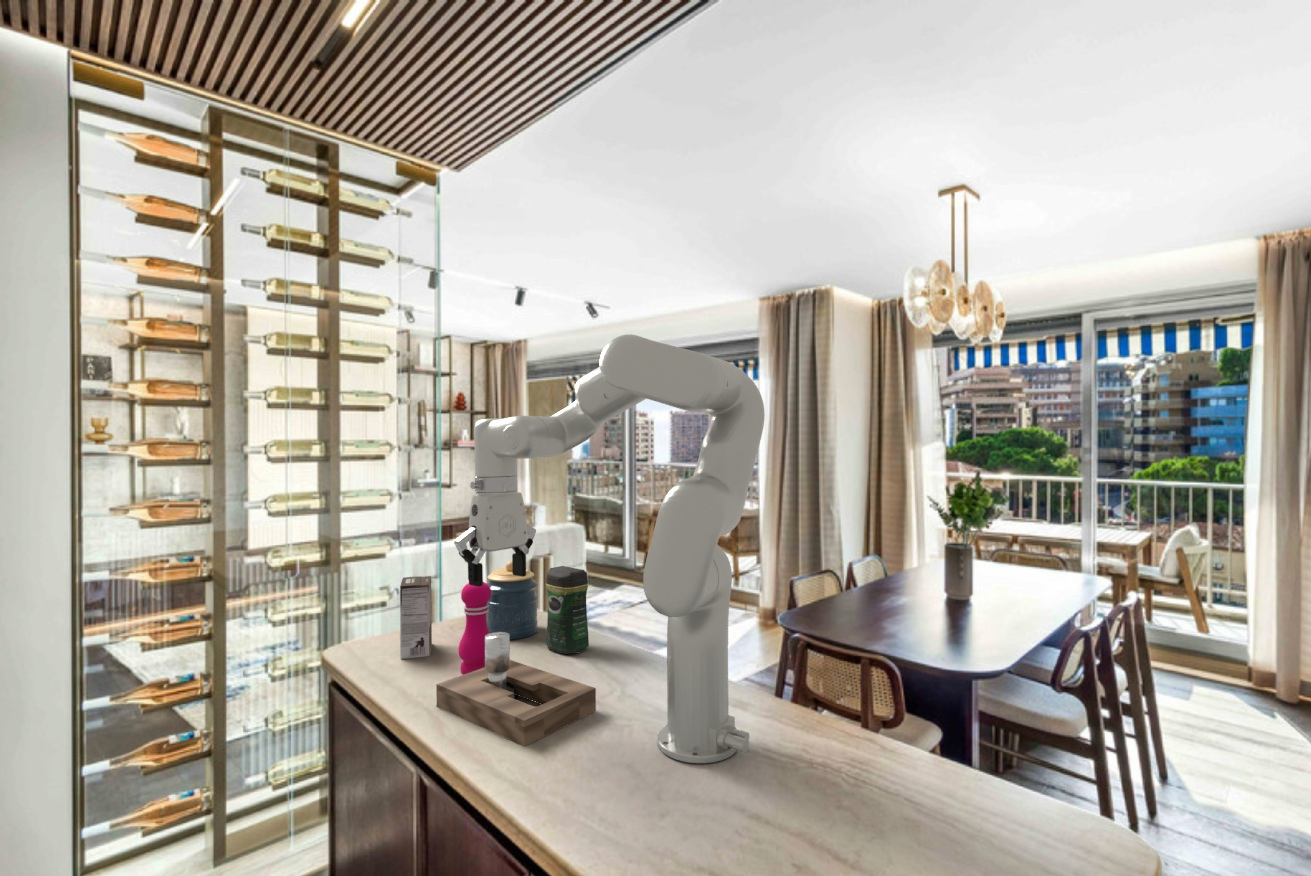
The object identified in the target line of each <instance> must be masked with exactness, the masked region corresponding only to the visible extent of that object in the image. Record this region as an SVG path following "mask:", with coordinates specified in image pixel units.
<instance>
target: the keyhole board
mask: <svg viewBox="0 0 1311 876" xmlns="http://www.w3.org/2000/svg"><path fill="white" fill-rule="evenodd" d="M435 685H436V689H435V690H436V692H435V693H436V707H437V708H439V709H441V710H444V711H446V712H448V713H450V714H451V715H454V716H456V717H459V718H461V719H464V720H466V721H468V722H470V723H472V724H474V725H477V726H478V727H481V728H483V729H485V730H488V731H490V732H492V733H494V734H495V735H498V736H501V737H503V738H505V739H507V740H509V741H512V742H514V743H515V744H517V745H520V746H523V747H526V746H527V745H531V744H532V743H535V742H537V741H538V740H541V739H542V738H544V737H546V736H548V735H550V734H552V733H554V732H557V731H558V730H560V729H562V728H564V727H567V726H568V725H570V724H572V723H575V722H576V721H578V720H580V719H582V718H585V717H587V716H588V715H590V714H592V713H595V712H597V701H596V700H597V697H596V696H597V695H596V694H597V692H596V691H597V688H596V687H593V686H590V685H587V684H586V683H581V682H578V681H575V680H572V679H569V678H566V677H563V676H560V675H557V674H554V673H551V672H549V671H548V672H547V671H545V670H541V669H540V668H539V669H538V668H536V667H533V666H530V665H527V664H525V663H521V662H518V661H516V660H515V661H514V660H512V659H510V669H509V670H507V685H511V686H513V687H514V689H515V694H516V695H515V696H518V695H520V696H521V698H523V697H525V698H524V699H526V698H528V699H530V700H529V701H531V700H533V701H532V702H534V701H536V702H538V703H537V704H539V703H541V704H542V705H541V704H539V705H538V706H533V705H531V704H528V703H526V702H523V701H520V700H518V699H514V693H513V692H510V691H507V690H505V689H502V688H499V687H497V686H494V685H492V684H489V678H488V672H486V671H485V667H484V668H481V669H479V670H476V671H473V672H470V673H467V674H464V675H463V674H461V675H459V676H456V677H452V678H449V679H447V680H444V681H442V682H438V683H436V684H435ZM520 696H519V697H520ZM528 699H527V700H528ZM536 702H535V703H536Z"/></svg>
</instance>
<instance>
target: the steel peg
mask: <svg viewBox="0 0 1311 876" xmlns="http://www.w3.org/2000/svg"><path fill="white" fill-rule="evenodd" d="M510 641H511V640H510V634H509V633H506V632H495V633H490V634H487V635H486V636H485V671H486V672H488V678H489V684H492V685H494V686H497V687H499V688H502V689H505V690H507V691H510V692H513V693H514V699H515V696H516V695H515V689H514V687H513V686H511V685H507V670H509V669H510V660H511V655H510V654H511V650H510V649H511V647H510V646H511V642H510ZM515 700H516V699H515Z"/></svg>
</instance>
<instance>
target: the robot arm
mask: <svg viewBox="0 0 1311 876" xmlns="http://www.w3.org/2000/svg"><path fill="white" fill-rule="evenodd" d="M574 395H575V401H573V402H572V403H571V404H569V405H567V406H566V407H564V408H563V409H561V410H559V411H558V412H556V413H554V414H553V415H550V416H544V415H543V416H540V415H514V416H509V417H506V418H505V417H504V418H500V417H499V418H495V417H493V418H482V419H479V420H477V421H476V422H475V424H474V426H473V427H474V429H473V431H474V435H473V436H474V438H473V439H474V481H471V482H470V486H469V487H470V488H471V490H474V492H475V493H474V494H473V495H472V497H471V503H470V509H469V519H468V530H466V531H465V532H463V533H462V534H461V535H459V536H458V537H457V538H456V539H455V540H454V542H453V543H454V546H455V548H456V550H457V552H458V555H459V556H460V557H461V558H462V559H463V560H464V562H465V563H467V580H468V583H469V584H470V585H473V586H478V587H479V586H482V585H483V582H484V581H483V579H484V578H483V576H484V575H483V574H484V573H483V571H484V570H483V569H484V567H483V566H484V565H483V563H482V562H481V563H480V561H481V560H482V558H483V557H484V554H485V553H486V552H489V553H490V552H498V551H504V550H507V549H508V550H510V549H512V550H513V552H514V553H512V556H511V558H512V560H511V561H512V571H513V575H516V576H522V577H523V576H526V569H527V555H529V552H530V549H531V546H532V545H533V544H534V538H535V536H536V534H537V529H536V528H535V527H533V526H531V525H528V523H527V515H526V507H525V502H524V499H523V495H522V492H519V487H518V483H519V481H518V459H519V460H520V459H523V460H524V459H535V458H552V457H553V458H554V457H558V456H560V455H563V454H565V453H567V452H568V451H570V450H572V449H574V448H575V447H578V446H579V445H581V444H583V443H584V442H586V441H588V440H589V439H590V438H592V437H593V436H595V434H597V432H598V431H599V430H601V428H602V427H603V426H604V425H605V423H607V422H608V421H609V420H611V419H613V418H615V417H616V416H618V415H620V414H622V413H624V412H625V411H627V410H628V409H631V408H632V407H634V406H636V405H637V404H639V403H641V402H643V401H645V400H650V401H654V402H658V403H660V404H664V405H666V406H669V407H672V408H676V409H679V410H683V411H687V412H688V411H689V412H692V413H693V412H696V413H704V414H707V413H708V415H709V416H710V424H709V427H708V429H707V431H706V433H705V435H704V437H703V440H702V442H701V445H700V450H699V456H698V459H697V463H696V466H695V469H694V472H693V475H692V476H691V477H687V478H684V479H682V480H681V481H678V482H677V483H675V484H674V485H673V486H672V487H671V488H670V489H669V490H668V492H667V493H666V494H665V496H664V497H663V500H662V501H661V504H660V507H659V510H658V514H657V517H656V521H655V525H654V529H653V533H652V535H651V536H652V537H651V541H650V544H649V549H648V552H647V557H646V561H645V564H644V569H643V578H642V584H643V585H642V586H643V592H644V595H645V597H646V600H647V601H648V604H649V605H650V606H651V607H652V608H653V609H654V610H655V612H657V613H659V614H660V615H663V616H665V617H667V624H666V625H667V627H666V631H667V632H666V683H667V684H666V687H667V688H666V691H667V695H666V696H667V697H666V698H667V701H666V702H667V703H666V705H667V707H666V709H667V714H666V715H667V718H666V719H667V724H666V725H664V727H662V729H660V730H659V732H658V734H657V746H658V747H659V750H661V752H662V753H663V754H665V755H666V756H668V757H670V758H672V759H673V760H676V761H680V762H684V763H688V764H710V763H716V762H721V761H724V760H726V759H728V758H730V757H732V756H733V755H734V754H735V753H736V752H740V753H743V754H746V753H747V752H748V750H749V746H750V743H749V742H750V740H749V739H750V732H747V731H744V730H740V729H737V727H736V726H735V725H736V721H735V719H736V717H735V716H732V715H730V714H729V615H730V603H731V602H730V601H731V594H732V582H733V581H732V580H733V579H732V578H733V572H732V565H731V562H730V560H729V557H728V555H727V554H726V552H725V551H724V549H722V547H721V546H719V545H718V543H719V539H720V537H723V536H724V535H727V534H729V533H730V532H732V531H733V530H734V529H735V528H736V527H737V526H738V524H739V523H740V521H741V519H742V515H743V513H744V507H745V503H746V499H747V495H748V491H749V487H750V484H751V479H752V475H753V473H754V469H755V468H754V467H755V462H756V460H757V459H756V458H757V455H758V452H759V447H760V444H761V440H762V437H763V432H764V427H765V405H764V400H763V397H762V395H761V392H760V390H759V388H758V386H757V385H756V383H755V382H754V381H753V379H751V377H750V376H749V375H748V374H747V373H745V372H744V371H743V370H742V369H741V368H739V367H737V366H736V364H735V365H734V364H733V363H731V362H729V361H727V360H724V359H722V358H718V357H715V356H711V355H709V354H707V353H706V354H705V353H703V352H698V351H694V350H690V349H686V348H684V347H678V346H675V345H670V344H668V343H662V342H658V341H656V340H655V341H654V340H652V339H649V338H646V337H643V336H640V335H636V334H623V335H619V336H616V337H614V338H613V339H611V340H610V341H609V342H608V343H607V344H606V346H604V348H603V349H602V351H601V354H600V357H599V366H598V367H596V368H595V369H593V370H592V371H590V372H588V373H586V374H585V375H583V376H581V377H579V378H578V379H577V380H576V383H575V384H574ZM468 544H469V547H470V549H468V546H467V545H468Z"/></svg>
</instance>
